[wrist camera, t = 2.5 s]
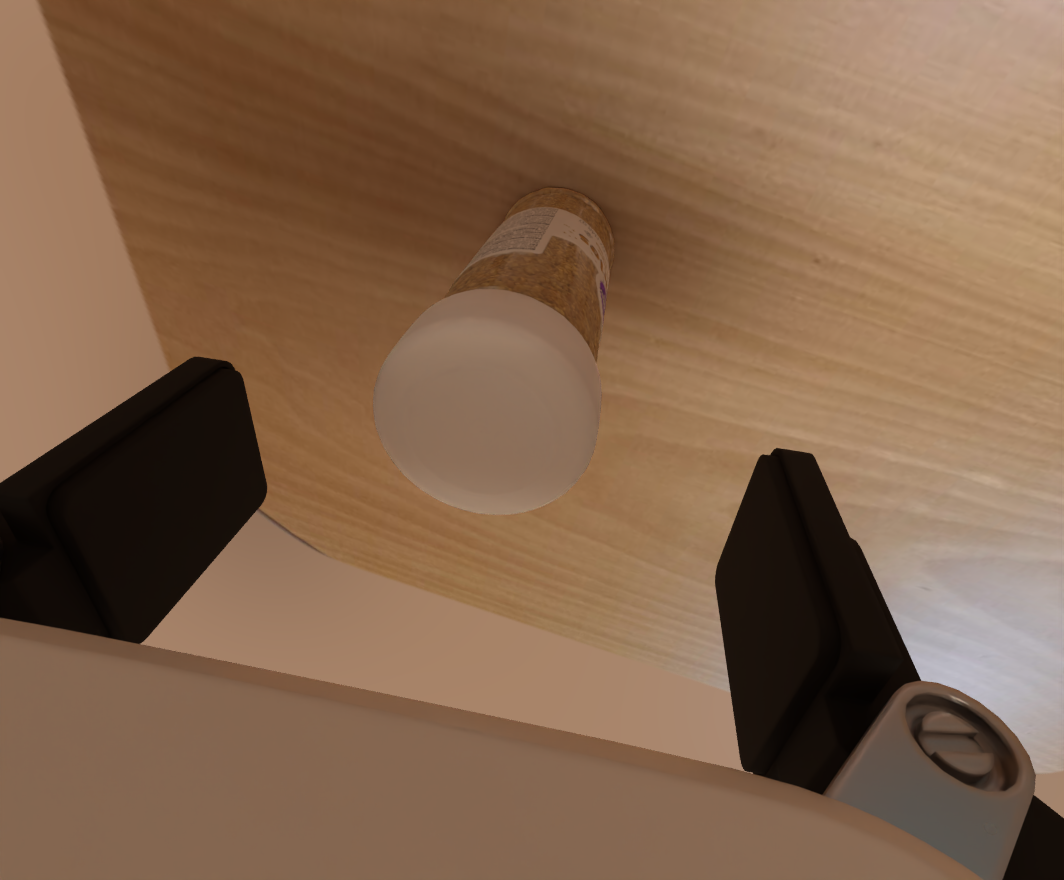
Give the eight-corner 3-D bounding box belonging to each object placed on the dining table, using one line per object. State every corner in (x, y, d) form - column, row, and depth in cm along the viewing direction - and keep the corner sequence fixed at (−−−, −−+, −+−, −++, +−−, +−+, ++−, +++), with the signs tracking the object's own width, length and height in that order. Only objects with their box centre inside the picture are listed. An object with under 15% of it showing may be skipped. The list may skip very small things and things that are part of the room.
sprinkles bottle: (626, 288, 23) (620, 509, 12) (518, 314, 24) (420, 536, 13) (599, 166, 20) (560, 295, 9) (481, 202, 22) (323, 354, 10)
